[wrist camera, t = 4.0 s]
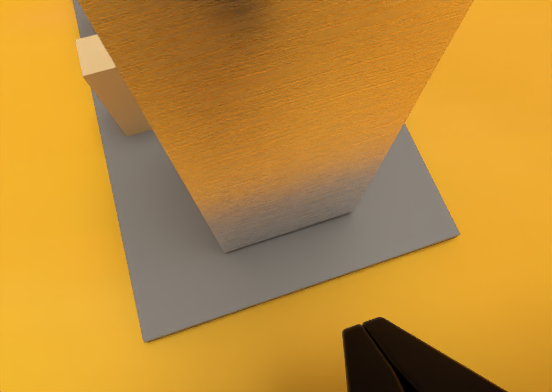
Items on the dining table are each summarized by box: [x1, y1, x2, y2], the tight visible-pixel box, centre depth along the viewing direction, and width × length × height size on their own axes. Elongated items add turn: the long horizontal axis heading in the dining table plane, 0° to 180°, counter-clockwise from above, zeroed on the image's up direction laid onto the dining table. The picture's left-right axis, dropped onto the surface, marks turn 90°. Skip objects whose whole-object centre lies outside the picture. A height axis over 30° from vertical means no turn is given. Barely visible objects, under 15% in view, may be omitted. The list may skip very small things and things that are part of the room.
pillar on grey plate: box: [77, 0, 474, 253], centre depth 9 cm, size 5×5×14 cm
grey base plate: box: [73, 0, 460, 342], centre depth 16 cm, size 17×12×4 cm
